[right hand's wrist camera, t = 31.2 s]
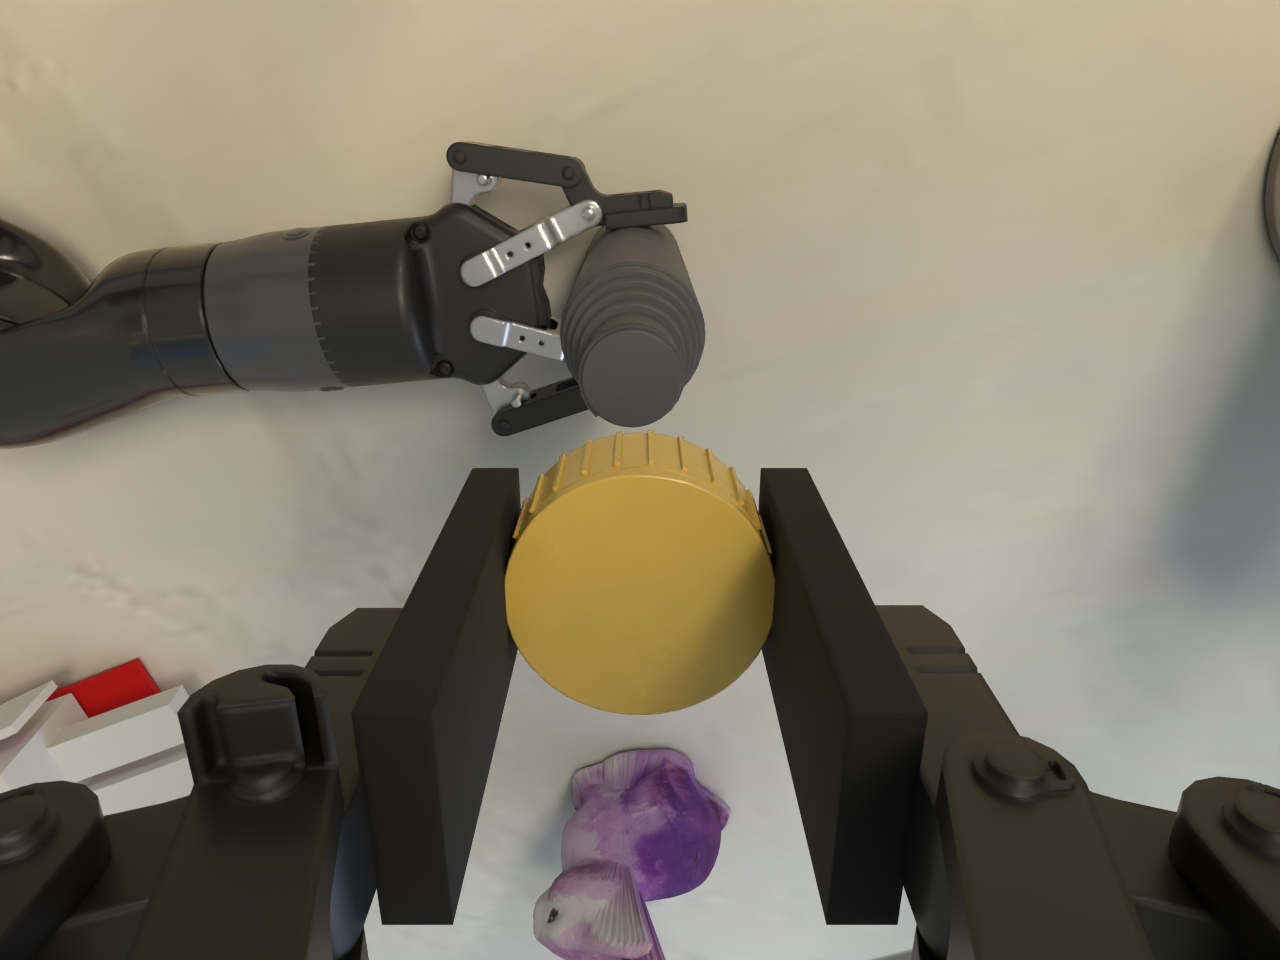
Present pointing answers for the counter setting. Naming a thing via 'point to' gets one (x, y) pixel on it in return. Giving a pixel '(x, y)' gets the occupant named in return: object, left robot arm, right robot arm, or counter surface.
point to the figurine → (628, 854)
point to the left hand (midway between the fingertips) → (689, 274)
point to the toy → (99, 739)
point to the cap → (639, 575)
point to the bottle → (632, 326)
